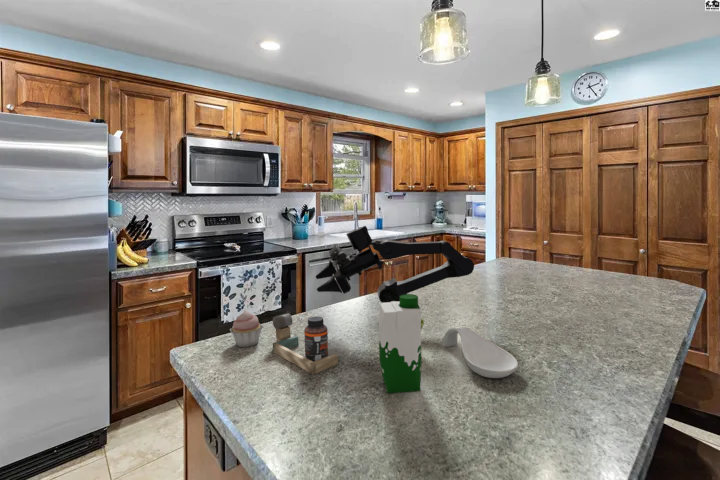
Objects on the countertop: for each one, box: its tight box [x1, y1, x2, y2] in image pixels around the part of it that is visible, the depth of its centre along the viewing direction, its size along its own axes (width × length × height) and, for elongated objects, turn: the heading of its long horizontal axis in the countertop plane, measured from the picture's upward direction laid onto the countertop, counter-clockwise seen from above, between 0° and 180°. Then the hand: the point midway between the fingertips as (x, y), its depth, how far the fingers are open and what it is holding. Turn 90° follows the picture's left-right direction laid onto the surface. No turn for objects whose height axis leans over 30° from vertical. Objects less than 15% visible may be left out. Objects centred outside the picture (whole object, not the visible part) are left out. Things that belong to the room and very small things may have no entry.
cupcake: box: [229, 309, 264, 348], centre depth 108 cm, size 9×9×10 cm
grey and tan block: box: [272, 311, 293, 342], centre depth 107 cm, size 4×5×9 cm
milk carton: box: [378, 293, 422, 394], centre depth 81 cm, size 9×9×20 cm
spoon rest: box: [441, 326, 519, 379], centre depth 92 cm, size 24×12×7 cm, turn 20°
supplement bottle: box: [304, 315, 329, 362], centre depth 95 cm, size 6×6×11 cm
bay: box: [272, 335, 339, 375], centre depth 97 cm, size 19×8×2 cm, turn 42°
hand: (316, 283), depth 119 cm, fingers open, 9 cm apart
